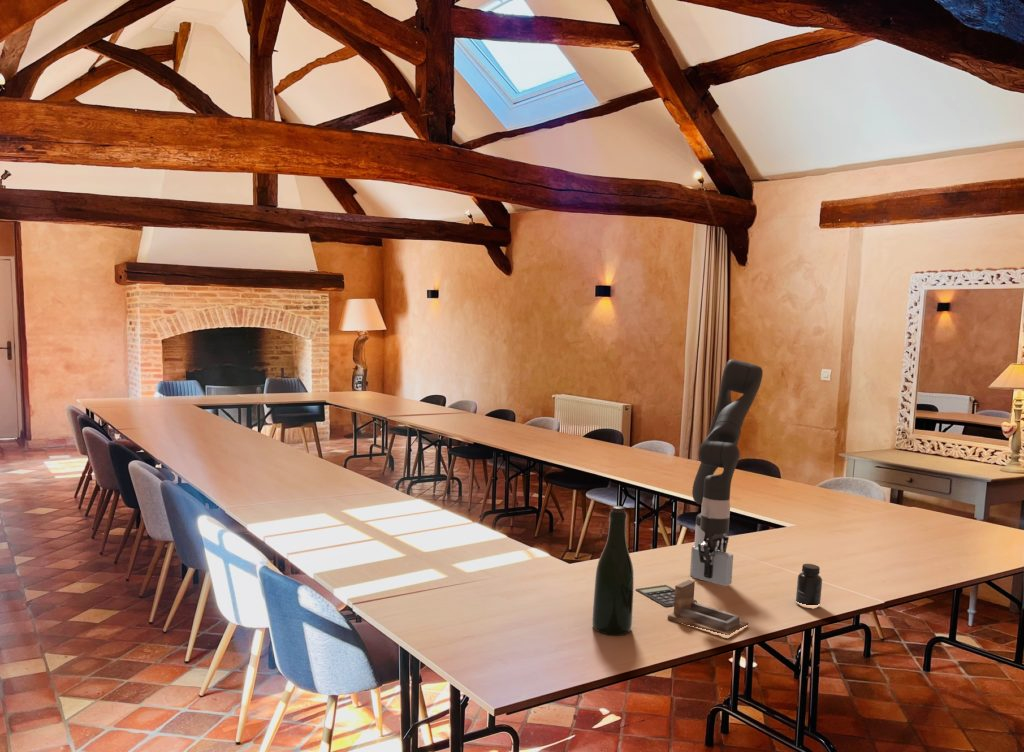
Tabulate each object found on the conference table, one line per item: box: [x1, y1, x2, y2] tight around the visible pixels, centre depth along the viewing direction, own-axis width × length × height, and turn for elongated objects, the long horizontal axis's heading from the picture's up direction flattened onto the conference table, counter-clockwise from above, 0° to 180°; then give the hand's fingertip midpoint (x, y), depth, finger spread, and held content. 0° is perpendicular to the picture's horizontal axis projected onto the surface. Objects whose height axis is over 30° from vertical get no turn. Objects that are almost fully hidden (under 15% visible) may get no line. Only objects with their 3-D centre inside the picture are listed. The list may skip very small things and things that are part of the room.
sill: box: [667, 579, 749, 635], centre depth 213 cm, size 18×12×9 cm, turn 48°
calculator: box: [635, 584, 698, 608], centre depth 233 cm, size 12×1×15 cm
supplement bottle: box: [795, 563, 823, 605], centre depth 230 cm, size 7×7×12 cm
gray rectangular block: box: [691, 547, 734, 587], centre depth 212 cm, size 10×4×8 cm, turn 49°
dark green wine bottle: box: [591, 505, 635, 636], centre depth 205 cm, size 10×10×33 cm
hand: (711, 575), depth 212 cm, fingers closed on gray rectangular block, 3 cm apart
